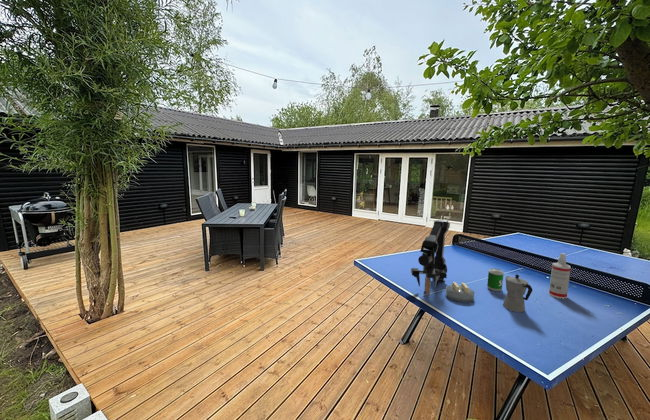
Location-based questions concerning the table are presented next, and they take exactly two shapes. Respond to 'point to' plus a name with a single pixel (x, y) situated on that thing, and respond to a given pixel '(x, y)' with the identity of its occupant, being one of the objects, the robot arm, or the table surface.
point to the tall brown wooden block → (427, 285)
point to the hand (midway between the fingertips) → (427, 287)
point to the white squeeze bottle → (560, 278)
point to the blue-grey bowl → (460, 292)
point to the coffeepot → (516, 293)
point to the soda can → (495, 279)
